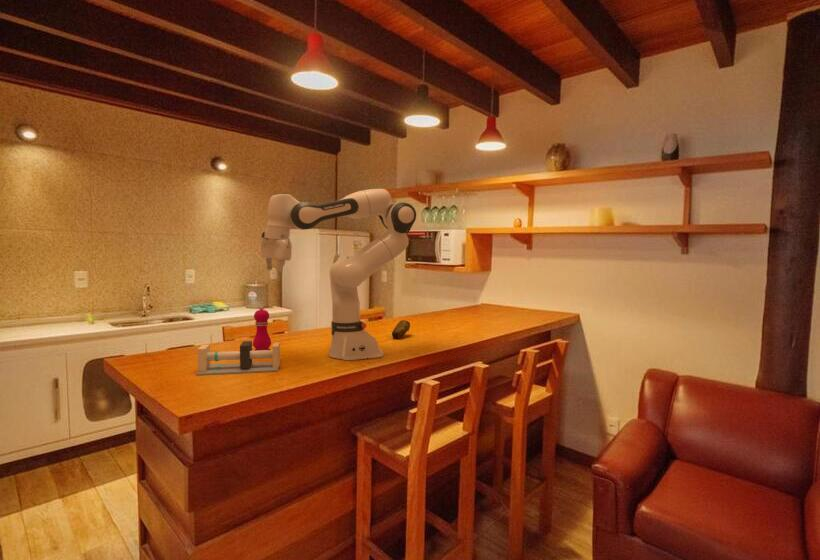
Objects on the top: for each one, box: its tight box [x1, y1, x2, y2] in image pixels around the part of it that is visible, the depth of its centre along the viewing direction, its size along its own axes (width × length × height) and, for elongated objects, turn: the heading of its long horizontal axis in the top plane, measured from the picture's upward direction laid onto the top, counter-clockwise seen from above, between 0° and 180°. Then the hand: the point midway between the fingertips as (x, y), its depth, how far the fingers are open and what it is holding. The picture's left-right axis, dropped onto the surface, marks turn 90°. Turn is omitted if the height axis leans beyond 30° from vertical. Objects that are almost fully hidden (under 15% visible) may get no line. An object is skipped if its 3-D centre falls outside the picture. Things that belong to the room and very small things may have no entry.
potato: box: [391, 320, 411, 339], centre depth 218 cm, size 8×13×8 cm, turn 136°
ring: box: [239, 340, 253, 369], centre depth 159 cm, size 3×8×8 cm, turn 12°
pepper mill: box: [252, 305, 272, 351], centre depth 181 cm, size 7×7×20 cm
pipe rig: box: [195, 341, 281, 376], centre depth 159 cm, size 27×12×9 cm, turn 102°
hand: (274, 270), depth 169 cm, fingers open, 8 cm apart
